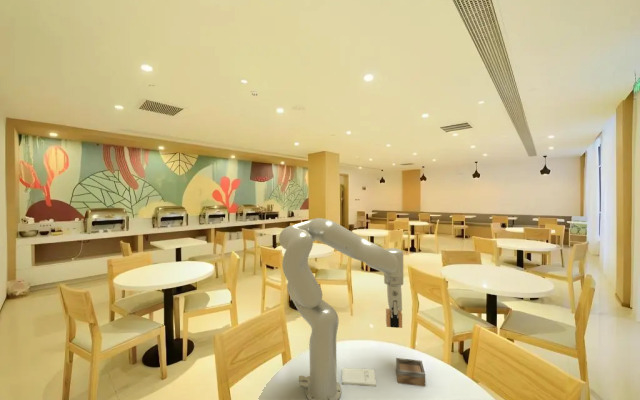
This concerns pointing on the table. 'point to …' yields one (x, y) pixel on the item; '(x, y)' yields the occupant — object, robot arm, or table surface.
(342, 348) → the table surface
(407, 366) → the brown wooden box
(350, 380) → the external hard drive
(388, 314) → the tan block
